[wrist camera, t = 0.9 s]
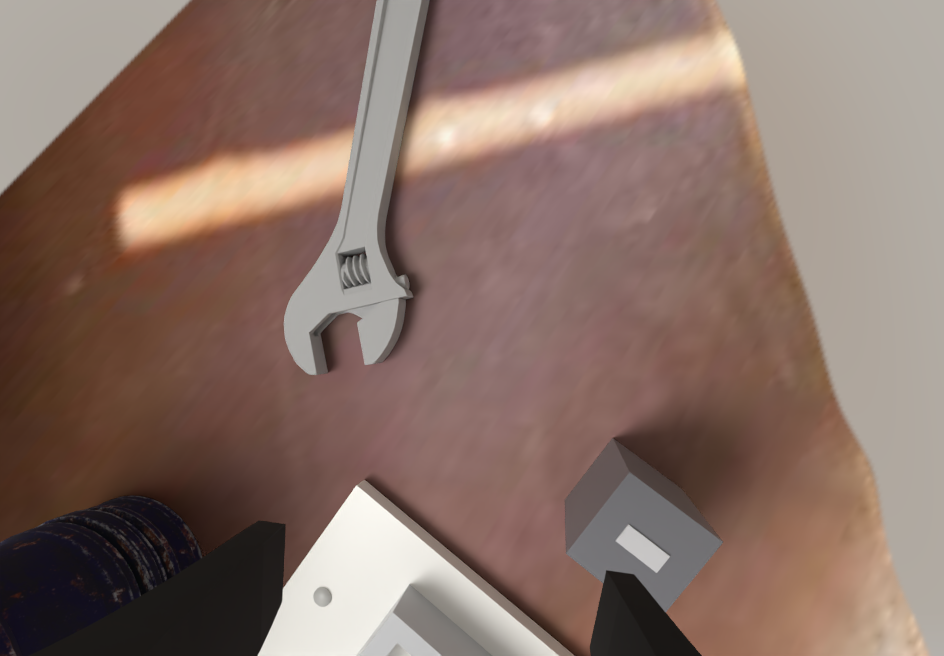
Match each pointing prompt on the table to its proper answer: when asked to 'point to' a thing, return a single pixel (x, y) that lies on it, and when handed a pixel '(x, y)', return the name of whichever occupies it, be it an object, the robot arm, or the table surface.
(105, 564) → the dark blue barrel
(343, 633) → the outlet plate
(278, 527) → the robot arm
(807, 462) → the table surface
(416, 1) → the adjustable wrench
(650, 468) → the block
